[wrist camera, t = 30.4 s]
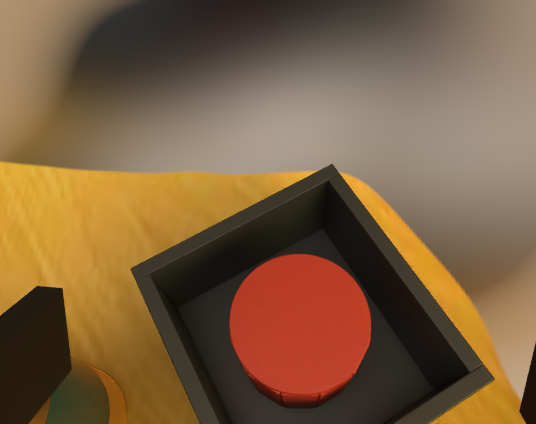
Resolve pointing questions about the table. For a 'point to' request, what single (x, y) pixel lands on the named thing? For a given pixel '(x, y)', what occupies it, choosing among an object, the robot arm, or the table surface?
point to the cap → (300, 329)
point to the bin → (342, 254)
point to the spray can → (84, 399)
